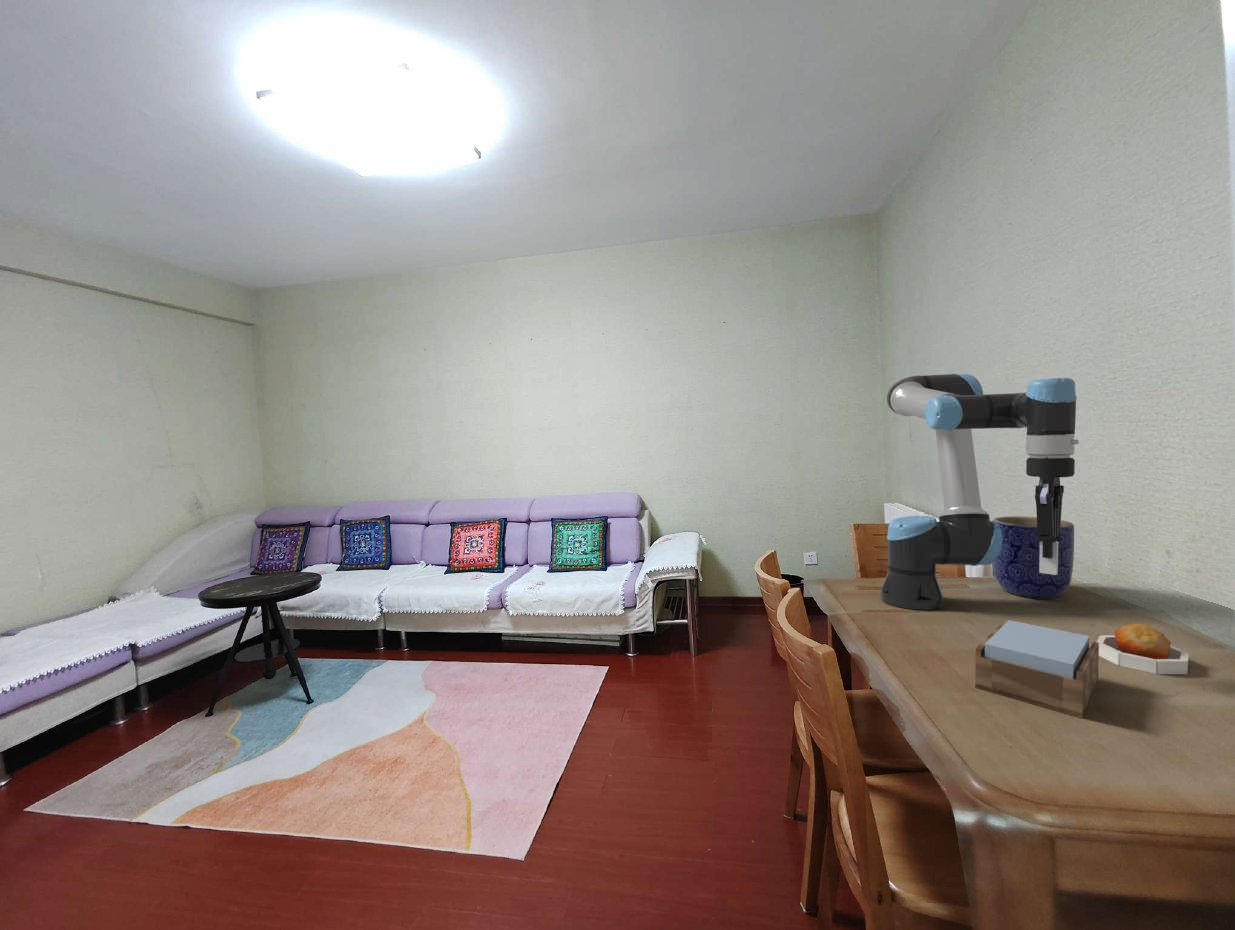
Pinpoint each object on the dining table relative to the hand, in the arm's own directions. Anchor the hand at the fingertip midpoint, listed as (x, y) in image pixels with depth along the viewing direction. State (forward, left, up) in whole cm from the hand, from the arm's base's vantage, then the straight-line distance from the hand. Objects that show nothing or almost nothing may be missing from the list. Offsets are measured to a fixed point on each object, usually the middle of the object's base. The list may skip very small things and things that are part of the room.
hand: (1048, 573), depth 107 cm
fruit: (+13, +13, -18) cm, 26 cm away
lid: (+1, -14, -12) cm, 18 cm away
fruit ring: (+13, +13, -18) cm, 26 cm away
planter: (-12, +51, -18) cm, 56 cm away
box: (+1, -14, -18) cm, 23 cm away
